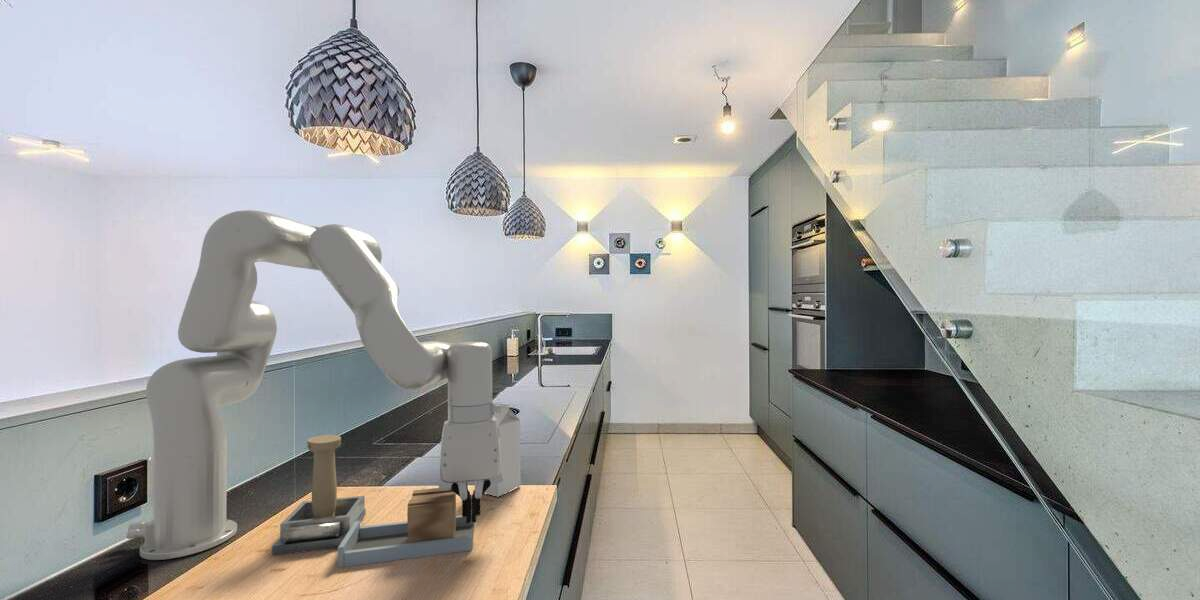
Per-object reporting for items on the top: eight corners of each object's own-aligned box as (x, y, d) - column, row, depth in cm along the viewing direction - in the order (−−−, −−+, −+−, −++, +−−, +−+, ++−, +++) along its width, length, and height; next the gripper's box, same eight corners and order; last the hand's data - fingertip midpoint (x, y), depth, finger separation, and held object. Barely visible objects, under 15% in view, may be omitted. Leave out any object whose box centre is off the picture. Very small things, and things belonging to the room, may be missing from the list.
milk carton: (498, 498, 97) (497, 407, 97) (474, 492, 101) (473, 404, 101) (521, 487, 103) (520, 401, 103) (497, 481, 107) (496, 398, 107)
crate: (407, 551, 75) (407, 505, 75) (414, 531, 81) (414, 489, 82) (453, 545, 76) (452, 500, 76) (456, 526, 83) (455, 485, 83)
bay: (337, 567, 71) (337, 547, 71) (355, 538, 80) (355, 521, 80) (472, 550, 76) (472, 531, 76) (474, 524, 85) (474, 508, 85)
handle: (317, 533, 79) (317, 444, 80) (301, 523, 83) (301, 439, 84) (346, 522, 83) (346, 438, 84) (330, 513, 87) (330, 433, 87)
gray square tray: (272, 555, 75) (272, 530, 75) (301, 523, 87) (301, 501, 87) (346, 546, 77) (346, 522, 78) (365, 516, 89) (365, 495, 89)
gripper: (513, 406, 86) (514, 506, 86) (428, 411, 83) (428, 515, 82) (515, 414, 79) (516, 524, 78) (422, 421, 75) (422, 535, 75)
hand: (471, 519), depth 80 cm, fingers closed
